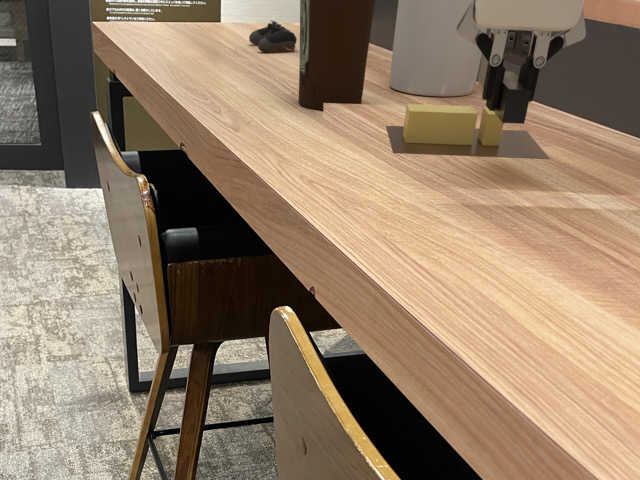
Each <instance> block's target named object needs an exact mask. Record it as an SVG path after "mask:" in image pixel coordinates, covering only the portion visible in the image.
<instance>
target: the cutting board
mask: <svg viewBox="0 0 640 480" xmlns="http://www.w3.org/2000/svg"><path fill="white" fill-rule="evenodd" d="M385 128H386V132H387V136H388V140H389V143H390V147H391V151H392V154H399V155H400V154H401V155H424V156H426V155H428V156H450V157H451V156H454V157H455V156H456V157H482V158H503V159H504V158H507V159H509V158H510V159H531V160H534V159H536V160H551V158H550V157H549V156H548V154H547V153H546V151H544V149H543V148H542V147H541V146H540V145H539V143H538V142H536V140H535V139H534V138H533V137H532V135H531V134H530V133H529V131H527V130H518V129H517V130H516V129H502V134H501V139H500V144H499V146H483V145H482V144H481V142H480V141H479V139H478V133H479V128H475V133H474V138H473V144H472V145H450V144H423V143H405V140H404V137H403V129H404V125H385Z"/></svg>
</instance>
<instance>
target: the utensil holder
mask: <svg viewBox="0 0 640 480" xmlns="http://www.w3.org/2000/svg"><path fill="white" fill-rule="evenodd" d="M470 2H471V0H398V3H397V11H396V19H395V29H394V34H393V35H394V36H393V45H392V54H391V65H390V76H389V86H390V88H391V89H393V90H395V91H398V92H401V93H406V94H410V95H416V96H424V97H427V96H428V97H443V98H444V97H447V98H448V97H450V98H451V97H462V96H467V95H471V94H473V93H474V91H475V88H476V87H475V86H476V84H477V83H476V82H477V79H478V75H479V70H480V66H481V61H482V56H483V54H482V52H481V51H480V49H479V48H478V46H477V45H475V44H474V43H472V42H470V41H468V40H467V39H465V38H463V37H462V36H460V35H459V34H458V33H457V26H458V24H459V22H460V21H461V19H462V17H463V15H464V13H465V12H466V10H467V8H468V6H469V4H470ZM476 28H478V29H479V30H481V31H483V32H485V33H486V34H487V31H488V28H485V27H482V26H481V25H479V24H478V23H477V22H476Z"/></svg>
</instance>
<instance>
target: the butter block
mask: <svg viewBox="0 0 640 480" xmlns="http://www.w3.org/2000/svg"><path fill="white" fill-rule="evenodd" d="M478 114H479V112H478V111H477V110H476V109H475V107H474V106H473V105H451V104H450V105H447V104H445V105H444V104H420V103H417V104H416V103H406V107H405V114H404V122H403V126H404V129H403V137H404V140H405V143H423V144H450V145H472V144H473V138H474V133H475V129H476V127H477V121H478V116H479V115H478Z"/></svg>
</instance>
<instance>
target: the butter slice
mask: <svg viewBox="0 0 640 480" xmlns="http://www.w3.org/2000/svg"><path fill="white" fill-rule="evenodd" d="M504 124H505V123H502V122H501V120H500V119H499V118H498V116H497V115H496V114H495V112H494V111H490V110H489V109H488V108H487V106H483V107H482V111H481V117H480V123H479V127H478V129H479V133H478V139H479V141H480V142H481V144H482V145H483V146H499V144H500V139H501V134H502V130H504Z"/></svg>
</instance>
